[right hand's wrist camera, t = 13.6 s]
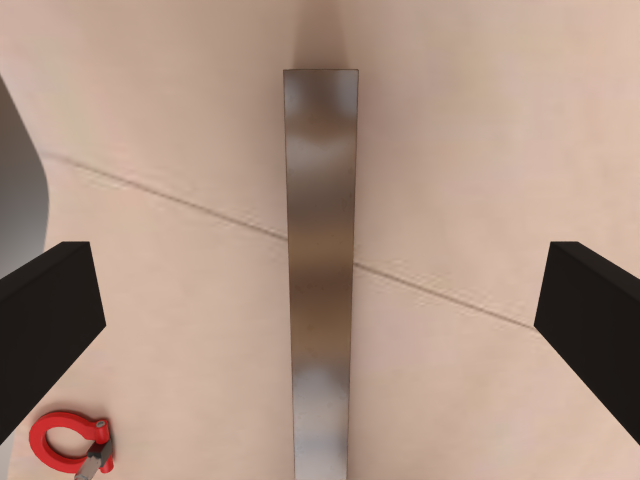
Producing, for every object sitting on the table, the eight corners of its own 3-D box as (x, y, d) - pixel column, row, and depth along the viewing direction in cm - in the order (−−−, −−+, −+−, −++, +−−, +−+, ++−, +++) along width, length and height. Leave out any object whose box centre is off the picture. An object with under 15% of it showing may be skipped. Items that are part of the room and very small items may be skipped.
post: (290, 72, 35) (283, 69, 28) (350, 72, 35) (358, 69, 28) (300, 506, 53) (297, 574, 46) (340, 506, 53) (344, 574, 46)
